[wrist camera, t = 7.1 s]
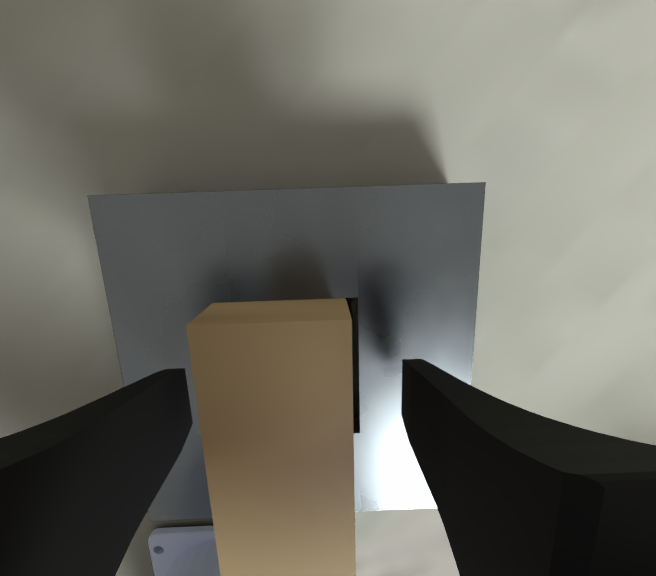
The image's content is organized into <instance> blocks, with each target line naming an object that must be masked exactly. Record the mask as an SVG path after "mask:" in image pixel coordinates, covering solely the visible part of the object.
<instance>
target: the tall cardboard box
mask: <svg viewBox="0 0 656 576" xmlns="http://www.w3.org/2000/svg"><path fill="white" fill-rule="evenodd" d="M186 331H187V338H188V345H189V352H190V359H191V367H192V374H193V381H194V388H195V396H196V403H197V410H198V417H199V424H200V432H201V439H202V446H203V453H204V460H205V468H206V475H207V482H208V489H209V497H210V504H211V511H212V518H213V525H214V533H215V540H216V547H217V554H218V561H219V569H220V576H356V562H355V496H354V431H353V366H352V319H351V315H350V311H349V308H348V304H347V301H346V298H337V299H336V298H328V299H301V300H275V301H253V302H225V303H212V304H211V305H210V306H209V307H207V308H206V309H205V310H204V311H203V312H201V313H200V314H199V315H198V316H197V317H195V318H194V319H193V320H192V321H191V322H189V323H188V324H187V325H186Z"/></svg>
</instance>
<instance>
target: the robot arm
mask: <svg viewBox="0 0 656 576" xmlns="http://www.w3.org/2000/svg"><path fill="white" fill-rule="evenodd" d="M401 415H402V419H403V422H404V426H405V430H406V433H407V437H408V440H409V443H410V445H411V448H412V450H413V453H414V455H415V457H416V460H417V462H418V464H419V467H420V469H421V471H422V474H423V476H424V478H425V481H426V483H427V485H428V487H429V490H430V492H431V494H432V497H433V499H434V501H435V504H436V506H437V508H438V511H439V514H440V516H441V519H442V521H443V524H444V527H445V530H446V533H447V536H448V539H449V542H450V546H451V549H452V552H453V555H454V558H455V561H456V564H457V567H458V571H459V574H460V576H656V445H650V444H645V443H640V442H635V441H630V440H626V439H622V438H618V437H614V436H609V435H605V434H601V433H597V432H593V431H590V430H586V429H582V428H579V427H575V426H572V425H569V424H565V423H562V422H559V421H556V420H553V419H550V418H546V417H543V416H541V415H538V414H535V413H532V412H529V411H527V410H524V409H522V408H519V407H517V406H514V405H512V404H509V403H507V402H504V401H502V400H500V399H497V398H495V397H493V396H491V395H489V394H487V393H485V392H483V391H481V390H479V389H477V388H475V387H473V386H471V385H469V384H467V383H465V382H463V381H461V380H460V379H458V378H456V377H454V376H452V375H451V374H449V373H447V372H445V371H444V370H442V369H440V368H438V367H437V366H435V365H433V364H431V363H429V362H427V361H425V360H423V359H402V402H401ZM192 424H193V420H192V414H191V407H190V400H189V393H188V386H187V379H186V372H185V368H176V369H164V370H161V371H158V372H156V373H153V374H151V375H149V376H147V377H144V378H142V379H140V380H138V381H136V382H134V383H132V384H130V385H127V386H125V387H123V388H121V389H119V390H117V391H115V392H113V393H111V394H109V395H107V396H104V397H102V398H100V399H98V400H96V401H93V402H91V403H89V404H87V405H84V406H82V407H80V408H78V409H76V410H73V411H71V412H69V413H66V414H64V415H62V416H59V417H57V418H54V419H52V420H49V421H47V422H44V423H42V424H39V425H36V426H34V427H31V428H28V429H26V430H23V431H20V432H17V433H15V434H12V435H9V436H6V437H2V438H0V576H115V575H116V572H117V570H118V568H119V566H120V564H121V562H122V559H123V557H124V555H125V553H126V551H127V549H128V546H129V544H130V542H131V540H132V538H133V536H134V534H135V532H136V530H137V529H138V527H139V525H140V523H141V521H142V519H143V518H144V516H145V514H146V512H147V511H148V509H149V507H150V506H151V504H152V502H153V500H154V499H155V497H156V495H157V493H158V492H159V490H160V488H161V487H162V485H163V483H164V481H165V480H166V478H167V476H168V474H169V473H170V471H171V469H172V467H173V466H174V464H175V462H176V460H177V459H178V457H179V455H180V453H181V451H182V449H183V446H184V444H185V442H186V439H187V437H188V434H189V432H190V429H191V427H192ZM148 545H149V550H150V555H151V560H152V565H153V570H154V576H220V569H219V561H218V554H217V547H216V540H215V533H214V526H192V527H171V528H157V529H154V530H153V531H152V532H151V534H150V536H149V538H148Z"/></svg>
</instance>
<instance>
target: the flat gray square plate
mask: <svg viewBox="0 0 656 576" xmlns="http://www.w3.org/2000/svg"><path fill="white" fill-rule="evenodd" d="M485 184H486V182H480V183H450V184H420V185H390V186H360V187H331V188H301V189H271V190H241V191H211V192H181V193H151V194H121V195H91V196H87V197H88V202H89V207H90V212H91V217H92V222H93V228H94V233H95V238H96V243H97V248H98V253H99V259H100V264H101V269H102V274H103V279H104V284H105V290H106V295H107V300H108V305H109V310H110V315H111V321H112V326H113V331H114V336H115V341H116V346H117V352H118V357H119V362H120V367H121V372H122V377H123V383H124V387H125V386H127V385H130V384H132V383H134V382H136V381H138V380H140V379H142V378H144V377H147V376H149V375H151V374H153V373H156V372H158V371H161V370H164V369H176V368H185V372H186V379H187V386H188V393H189V400H190V407H191V414H192V420H193V424H192V427H191V429H190V432H189V434H188V437H187V439H186V442H185V444H184V446H183V449H182V451H181V453H180V455H179V457H178V459H177V460H176V462H175V464H174V466H173V467H172V469H171V471H170V473H169V474H168V476H167V478H166V480H165V481H164V483H163V485H162V487H161V488H160V490H159V492H158V493H157V495H156V497H155V499H154V500H153V502H152V504H151V506H150V507H149V509H148V512H149V517H150V521H164V520H185V519H207V518H212V511H211V504H210V497H209V489H208V482H207V475H206V468H205V460H204V453H203V446H202V439H201V432H200V424H199V417H198V410H197V403H196V396H195V388H194V381H193V374H192V367H191V359H190V352H189V345H188V338H187V331H186V325H187V324H188V323H189V322H191V321H192V320H193V319H194V318H195V317H197V316H198V315H199V314H200V313H201V312H203V311H204V310H205V309H206V308H207V307H209V306H210V305H211V304H212V303H225V302H251V301H275V300H301V299H328V298H351V319H352V366H353V431H354V496H355V512H359V511H380V510H402V509H424V508H437V506H436V504H435V501H434V499H433V497H432V494H431V492H430V490H429V487H428V485H427V483H426V481H425V478H424V476H423V474H422V471H421V469H420V467H419V464H418V462H417V460H416V457H415V455H414V453H413V450H412V448H411V445H410V443H409V440H408V437H407V433H406V430H405V426H404V422H403V419H402V415H401V402H402V359H423V360H425V361H427V362H429V363H431V364H433V365H435V366H437V367H438V368H440V369H442V370H444V371H445V372H447V373H449V374H451V375H452V376H454V377H456V378H458V379H460V380H461V381H463V382H465V383H467V384H469V385H471V377H472V363H473V349H474V335H475V322H476V308H477V294H478V280H479V267H480V253H481V239H482V225H483V212H484V198H485Z"/></svg>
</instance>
